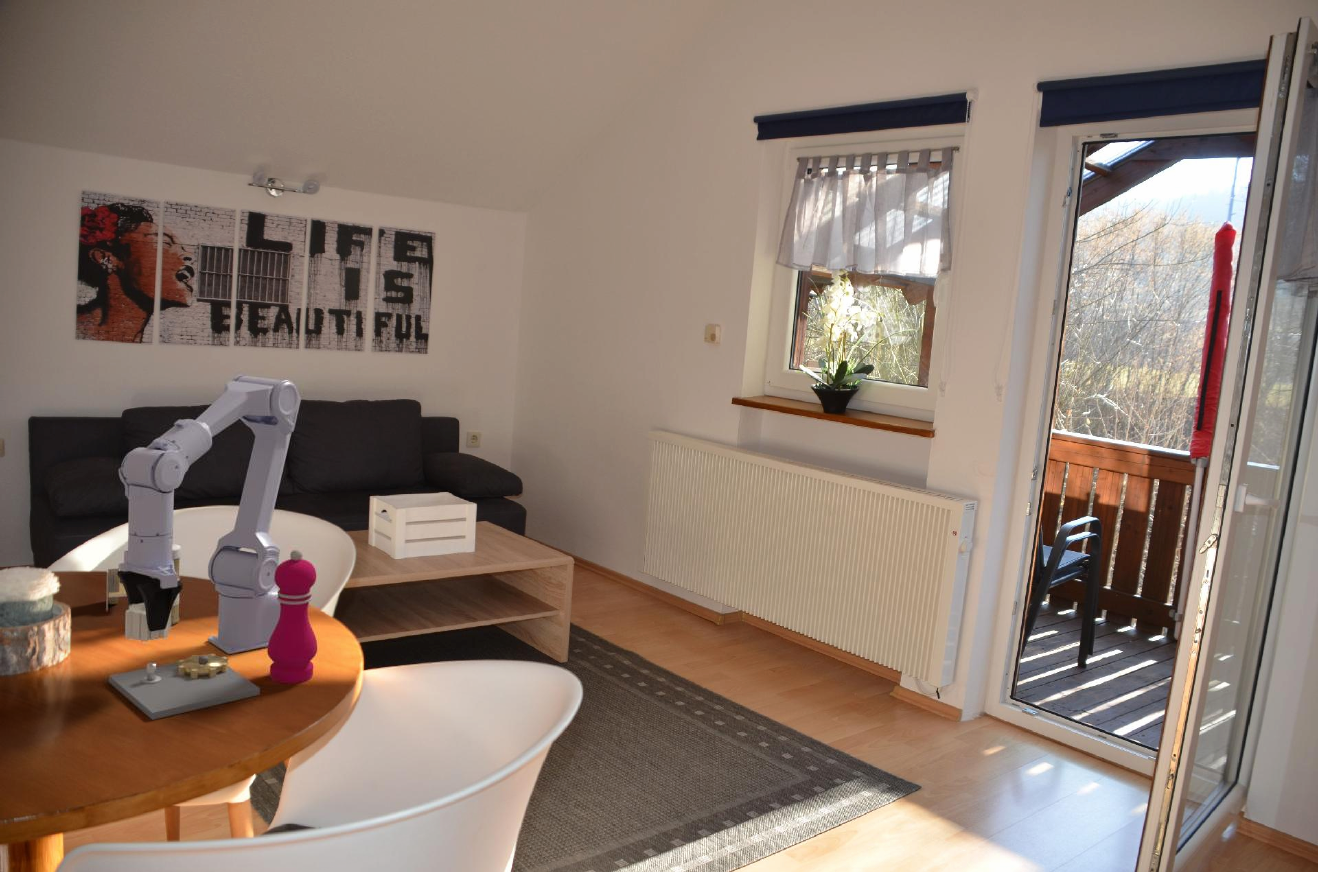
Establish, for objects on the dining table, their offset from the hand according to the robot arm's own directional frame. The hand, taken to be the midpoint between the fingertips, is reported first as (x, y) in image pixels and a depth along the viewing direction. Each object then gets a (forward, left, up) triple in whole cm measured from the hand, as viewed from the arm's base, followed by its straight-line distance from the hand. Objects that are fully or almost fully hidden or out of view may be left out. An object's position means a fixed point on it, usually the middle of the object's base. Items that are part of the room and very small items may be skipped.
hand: (148, 623), depth 147 cm
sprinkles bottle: (-12, -25, -10) cm, 30 cm away
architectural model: (-8, -38, -10) cm, 41 cm away
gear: (0, 0, -2) cm, 2 cm away
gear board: (-4, +4, -9) cm, 11 cm away
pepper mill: (-18, +8, -10) cm, 22 cm away
